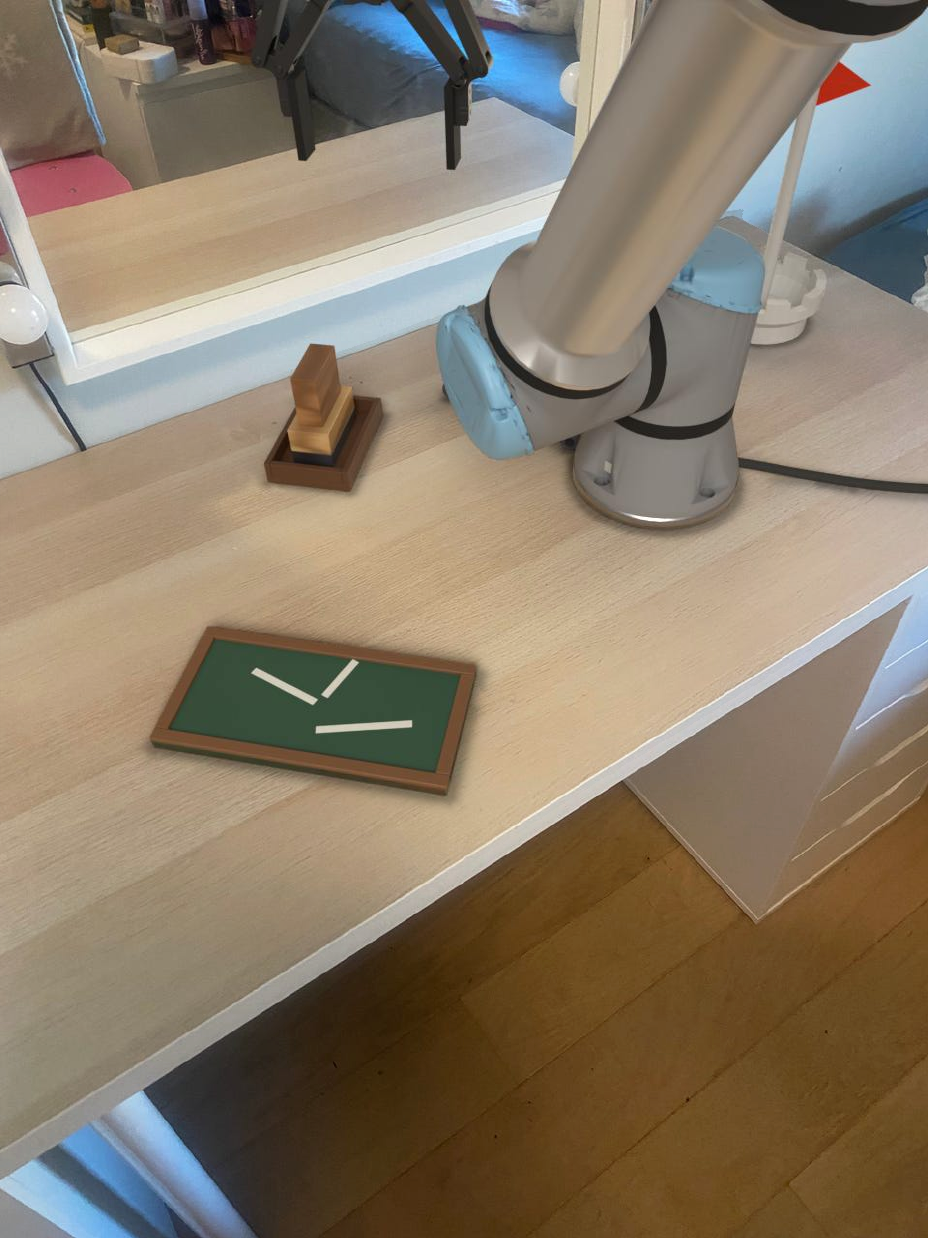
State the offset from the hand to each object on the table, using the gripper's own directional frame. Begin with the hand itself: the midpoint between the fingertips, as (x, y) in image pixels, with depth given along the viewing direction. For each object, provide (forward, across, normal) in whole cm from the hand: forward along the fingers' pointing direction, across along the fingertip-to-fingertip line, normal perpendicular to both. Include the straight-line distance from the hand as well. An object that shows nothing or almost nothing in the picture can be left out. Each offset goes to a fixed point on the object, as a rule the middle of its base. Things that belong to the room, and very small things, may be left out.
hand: (379, 159), depth 80 cm
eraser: (+22, +4, +13) cm, 26 cm away
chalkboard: (+23, -5, +44) cm, 50 cm away
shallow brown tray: (+23, +4, +13) cm, 26 cm away
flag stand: (+23, -38, -19) cm, 48 cm away
